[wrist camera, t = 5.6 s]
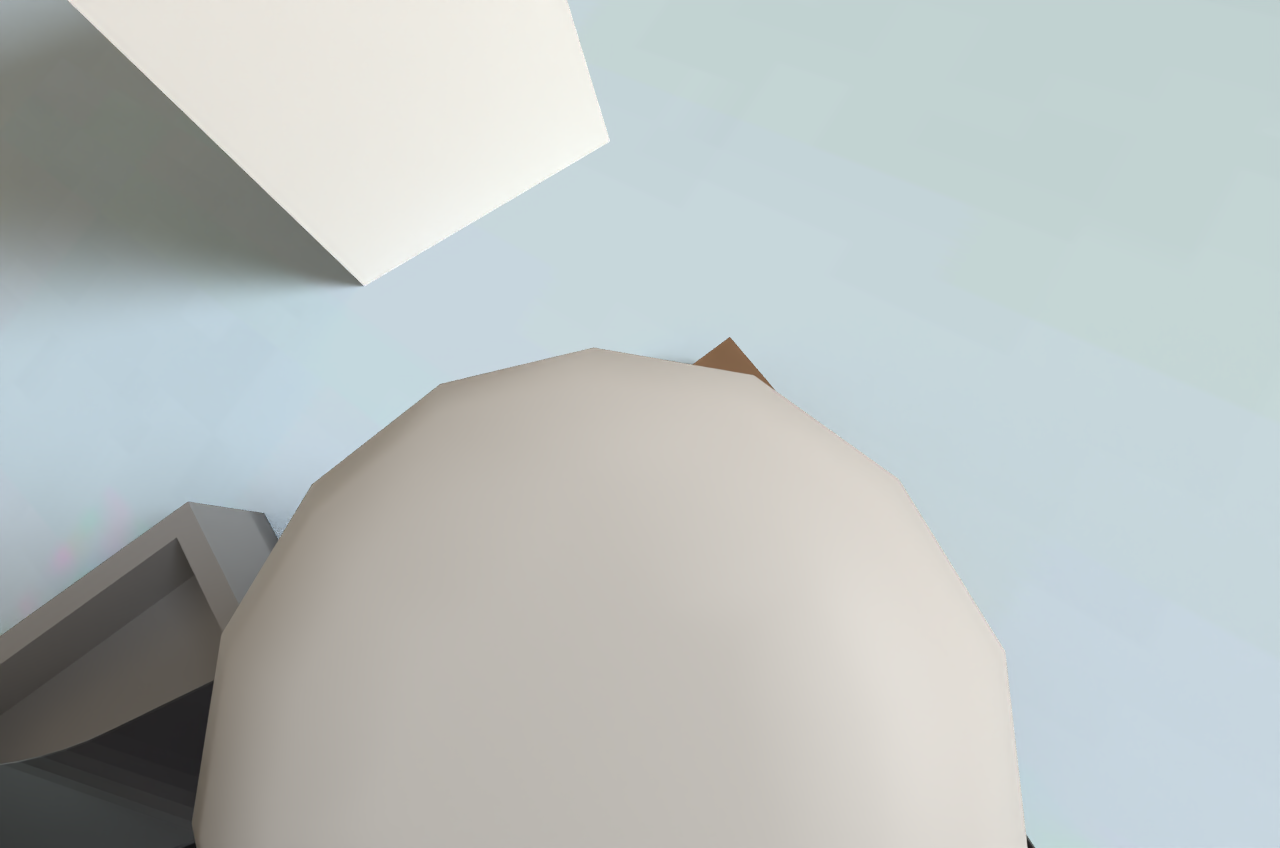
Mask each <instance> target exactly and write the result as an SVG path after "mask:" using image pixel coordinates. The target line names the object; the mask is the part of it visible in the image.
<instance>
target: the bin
mask: <svg viewBox="0 0 1280 848" xmlns="http://www.w3.org/2000/svg"><path fill="white" fill-rule="evenodd" d="M277 542H278V539H277V537H276V535H275V533H274V531H273V529H272V527H271V525H270V524H269V522H268V520H267V518H266V516H265V514H264V513H259V512H252V511H246V510H239V509H233V508H226V507H219V506H213V505H206V504H200V503H193V502H187V503H185V504H184V505H183V506H181V507H180V508H178V509H177V510H176V511H174V512H173V513H171V514H170V515H169V516H167V517H166V518H165V519H163V520H162V521H160V522H159V523H158V524H156V525H155V526H153V527H152V528H151V529H149V530H148V531H146V532H145V533H144V534H142V535H141V536H139V537H138V538H137V539H135V540H134V541H132V542H131V543H130V544H128V545H127V546H125V547H124V548H123V549H121V550H120V551H118V552H117V553H116V554H114V555H113V556H112V557H110V558H109V559H107V560H106V561H105V562H103V563H102V564H100V565H99V566H98V567H96V568H95V569H93V570H92V571H91V572H89V573H88V574H86V575H85V576H84V577H82V578H81V579H79V580H78V581H77V582H75V583H74V584H72V585H71V586H70V587H68V588H67V589H65V590H64V591H63V592H61V593H60V594H59V595H57V596H56V597H54V598H53V599H52V600H50V601H49V602H47V603H46V604H45V605H43V606H42V607H40V608H39V609H38V610H36V611H35V612H33V613H32V614H31V615H29V616H28V617H26V618H25V619H24V620H22V621H21V622H19V623H18V624H17V625H15V626H14V627H12V628H11V629H10V630H8V631H7V632H5V633H4V634H3V635H1V636H0V764H4V763H10V762H17V761H21V760H26V759H30V758H35V757H39V756H43V755H46V754H49V753H53V752H56V751H59V750H63V749H65V748H68V747H71V746H73V745H76V744H79V743H81V742H84V741H87V740H89V739H91V738H94V737H96V736H98V735H100V734H103V733H105V732H107V731H109V730H111V729H113V728H115V727H118V726H120V725H122V724H124V723H126V722H128V721H130V720H132V719H134V718H136V717H138V716H140V715H142V714H144V713H146V712H148V711H151V710H153V709H155V708H157V707H159V706H161V705H163V704H165V703H167V702H169V701H171V700H173V699H175V698H177V697H179V696H181V695H184V694H186V693H188V692H190V691H192V690H194V689H196V688H198V687H200V686H202V685H204V684H206V683H208V682H210V681H212V680H214V678H215V672H216V665H217V659H218V653H219V646H220V640H221V634H222V633H223V631H224V629H225V628H226V626H227V624H228V623H229V621H230V619H231V618H232V616H233V614H234V613H235V611H236V609H237V608H238V606H239V604H240V603H241V601H242V599H243V598H244V596H245V595H246V593H247V591H248V590H249V588H250V586H251V585H252V583H253V581H254V580H255V578H256V576H257V575H258V573H259V571H260V570H261V568H262V566H263V565H264V563H265V561H266V560H267V558H268V557H269V555H270V553H271V552H272V550H273V548H274V547H275V545H276V543H277Z"/></svg>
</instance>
